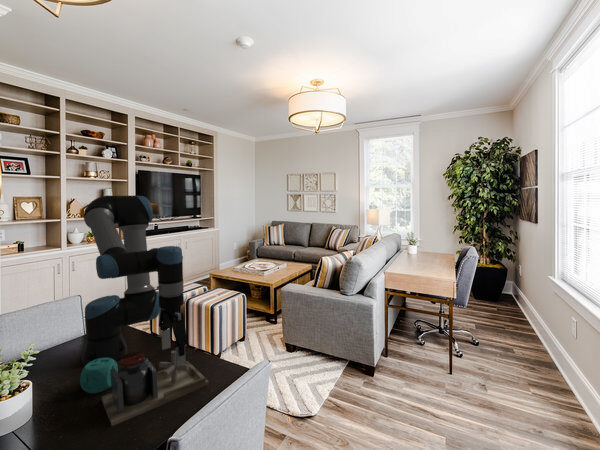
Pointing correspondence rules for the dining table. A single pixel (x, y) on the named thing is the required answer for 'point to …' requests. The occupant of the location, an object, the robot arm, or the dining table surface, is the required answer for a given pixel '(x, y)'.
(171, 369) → the pipe connector
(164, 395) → the jig
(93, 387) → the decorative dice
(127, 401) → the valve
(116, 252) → the robot arm
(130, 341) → the dining table surface
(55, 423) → the dining table surface
